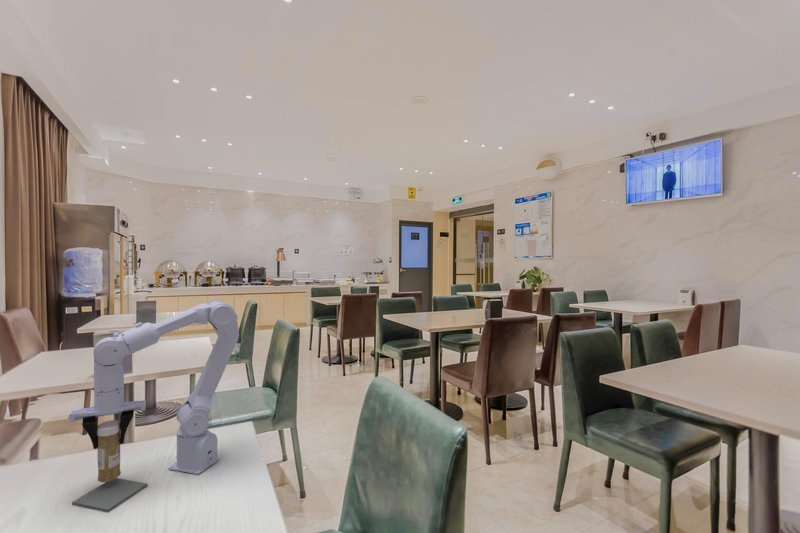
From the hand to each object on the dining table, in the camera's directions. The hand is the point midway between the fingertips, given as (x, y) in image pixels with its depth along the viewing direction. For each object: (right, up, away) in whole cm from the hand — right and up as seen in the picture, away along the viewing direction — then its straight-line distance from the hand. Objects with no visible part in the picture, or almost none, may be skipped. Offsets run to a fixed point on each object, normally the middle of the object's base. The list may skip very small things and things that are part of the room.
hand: (109, 444), depth 93 cm
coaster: (+3, -11, -3) cm, 11 cm away
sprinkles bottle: (0, -8, +1) cm, 8 cm away
